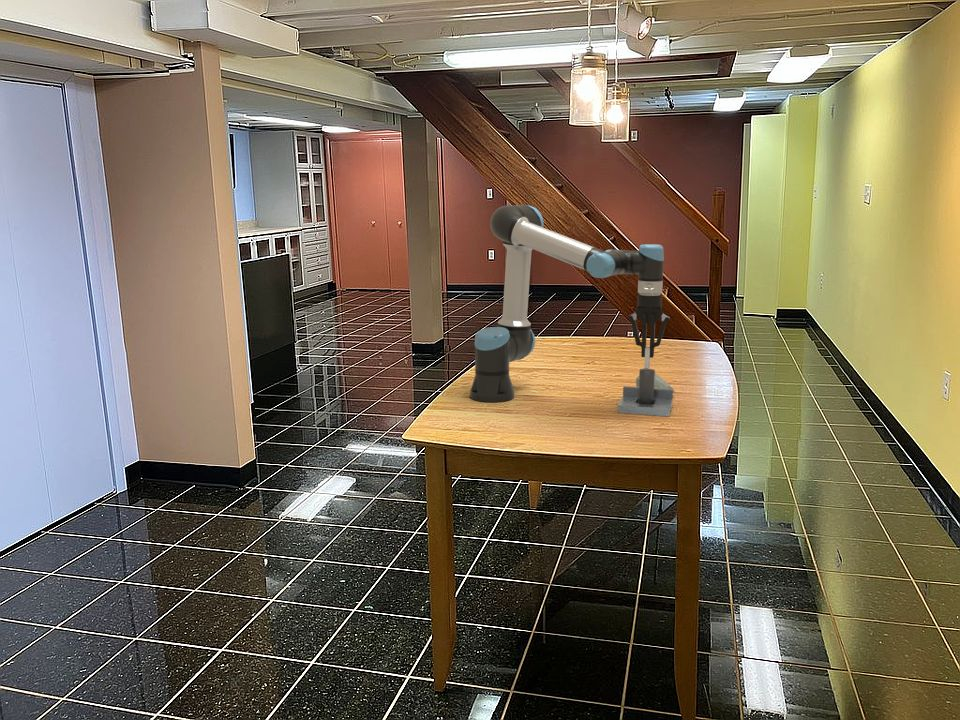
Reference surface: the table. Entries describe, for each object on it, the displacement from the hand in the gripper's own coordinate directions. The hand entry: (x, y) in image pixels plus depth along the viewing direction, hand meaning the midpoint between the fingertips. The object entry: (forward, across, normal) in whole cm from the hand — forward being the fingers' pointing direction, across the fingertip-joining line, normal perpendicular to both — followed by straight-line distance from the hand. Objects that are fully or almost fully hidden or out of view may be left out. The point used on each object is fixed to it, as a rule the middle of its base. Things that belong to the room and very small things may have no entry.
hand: (647, 367), depth 259 cm
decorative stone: (+14, +1, +19) cm, 24 cm away
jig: (+14, 0, 0) cm, 14 cm away
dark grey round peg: (+14, 0, 0) cm, 14 cm away
